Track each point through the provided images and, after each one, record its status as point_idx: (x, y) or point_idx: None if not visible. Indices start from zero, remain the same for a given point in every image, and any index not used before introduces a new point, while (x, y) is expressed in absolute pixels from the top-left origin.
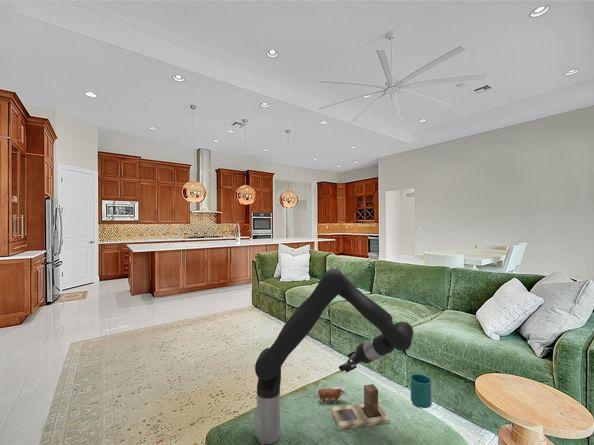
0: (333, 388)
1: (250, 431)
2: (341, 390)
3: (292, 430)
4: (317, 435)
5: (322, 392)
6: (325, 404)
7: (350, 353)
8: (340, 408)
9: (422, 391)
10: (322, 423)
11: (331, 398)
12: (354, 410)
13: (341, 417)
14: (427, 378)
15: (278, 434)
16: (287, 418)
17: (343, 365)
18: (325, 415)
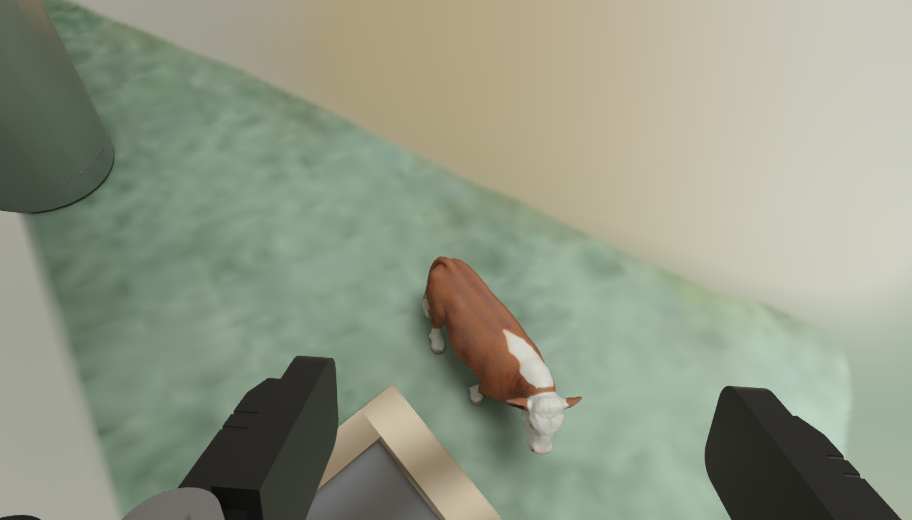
0: (510, 342)
1: None
2: (525, 407)
3: (126, 252)
4: (129, 402)
5: (437, 286)
6: (431, 337)
7: (793, 460)
8: (415, 452)
9: None
10: None
11: (459, 358)
12: None
13: (356, 488)
14: None
15: (6, 197)
16: (221, 194)
17: (230, 474)
18: (344, 374)
